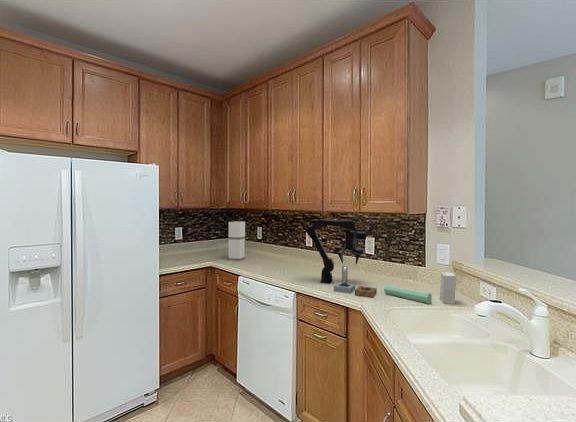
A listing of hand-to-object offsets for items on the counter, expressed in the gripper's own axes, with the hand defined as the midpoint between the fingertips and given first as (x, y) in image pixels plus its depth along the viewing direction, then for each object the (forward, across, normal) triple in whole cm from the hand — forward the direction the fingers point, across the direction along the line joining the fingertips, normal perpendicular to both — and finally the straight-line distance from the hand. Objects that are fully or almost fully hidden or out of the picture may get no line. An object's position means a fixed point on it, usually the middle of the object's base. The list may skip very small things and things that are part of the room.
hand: (349, 263), depth 192 cm
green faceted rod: (+14, -36, +14) cm, 41 cm away
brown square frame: (+13, -15, +18) cm, 27 cm away
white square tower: (+13, +115, -32) cm, 120 cm away
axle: (+13, -2, +16) cm, 21 cm away
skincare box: (+13, -56, +10) cm, 58 cm away
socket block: (+13, -2, +16) cm, 21 cm away
